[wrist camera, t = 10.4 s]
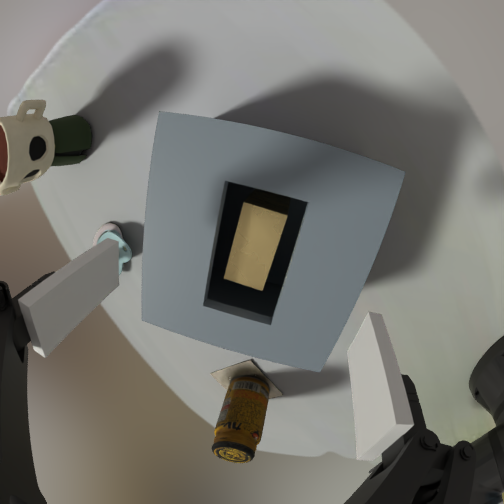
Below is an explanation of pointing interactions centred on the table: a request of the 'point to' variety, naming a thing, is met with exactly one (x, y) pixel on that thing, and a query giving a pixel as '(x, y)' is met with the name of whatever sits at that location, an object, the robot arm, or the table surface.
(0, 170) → the character mug
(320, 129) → the table surface
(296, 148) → the box
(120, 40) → the table surface
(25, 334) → the robot arm
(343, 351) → the table surface
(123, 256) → the pacifier
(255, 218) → the gold brushed block
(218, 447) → the condiment
